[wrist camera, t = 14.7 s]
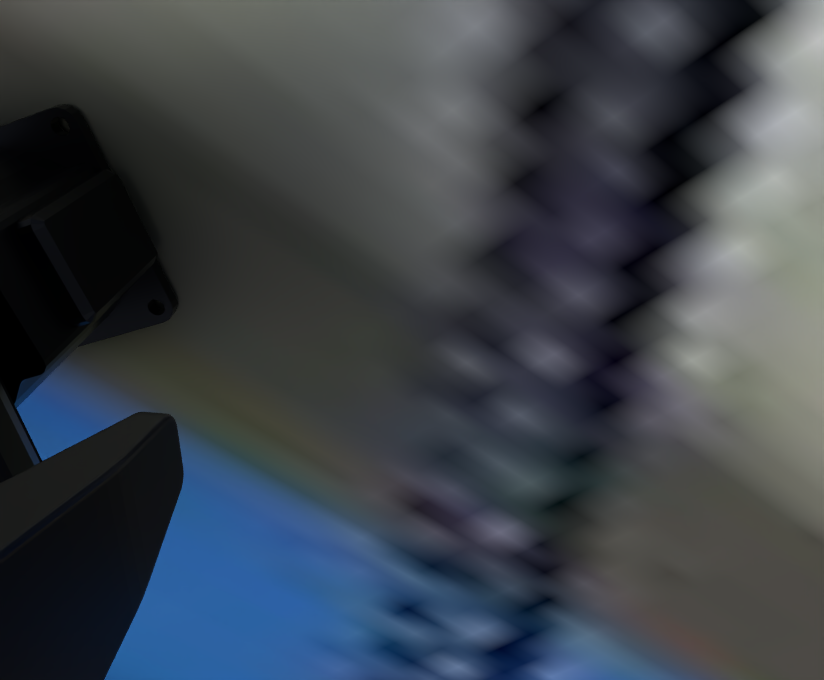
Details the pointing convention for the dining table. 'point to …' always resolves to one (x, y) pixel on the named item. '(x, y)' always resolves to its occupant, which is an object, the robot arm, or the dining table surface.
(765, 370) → the dining table surface
